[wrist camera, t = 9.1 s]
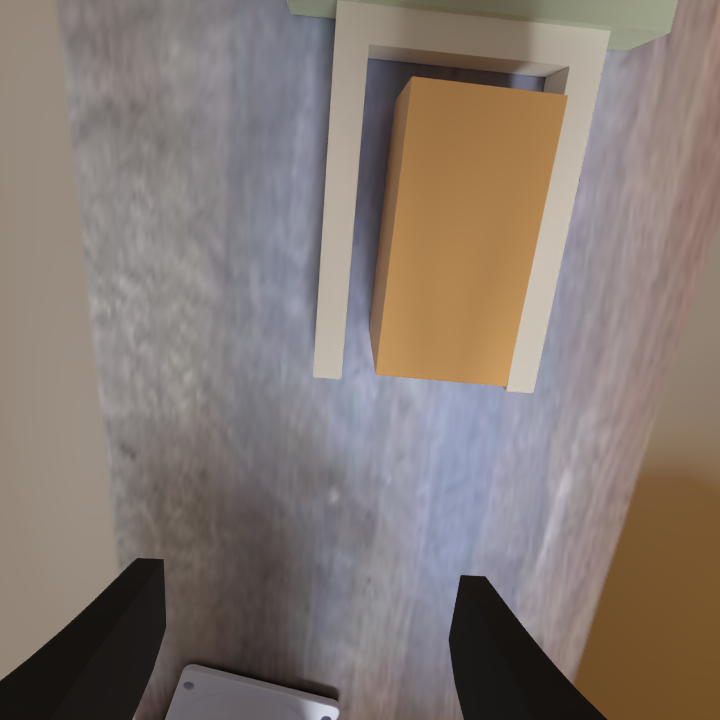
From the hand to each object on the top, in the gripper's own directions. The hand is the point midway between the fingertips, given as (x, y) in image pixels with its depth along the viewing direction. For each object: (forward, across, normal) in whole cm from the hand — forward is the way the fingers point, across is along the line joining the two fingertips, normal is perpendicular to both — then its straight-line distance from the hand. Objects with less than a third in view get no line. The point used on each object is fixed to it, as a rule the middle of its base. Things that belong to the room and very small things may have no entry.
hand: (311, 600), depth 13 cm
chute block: (+10, -4, -8) cm, 13 cm away
